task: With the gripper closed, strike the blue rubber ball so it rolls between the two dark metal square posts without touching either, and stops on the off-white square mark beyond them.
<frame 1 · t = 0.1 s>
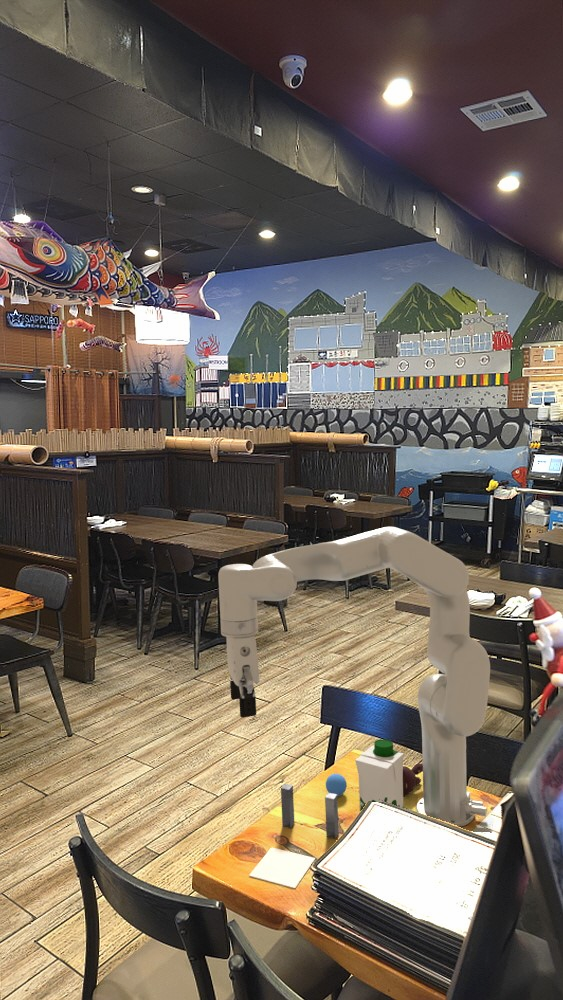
hand: (243, 707, 143), 31 cm above the table, tool pointing down, fingers open, 9 cm apart
icecream: (401, 794, 166), on the table
ball: (336, 784, 166), on the table
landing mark: (282, 867, 140), on the table
left post: (288, 825, 155), on the table
milk carton: (381, 837, 149), on the table
right post: (332, 835, 150), on the table
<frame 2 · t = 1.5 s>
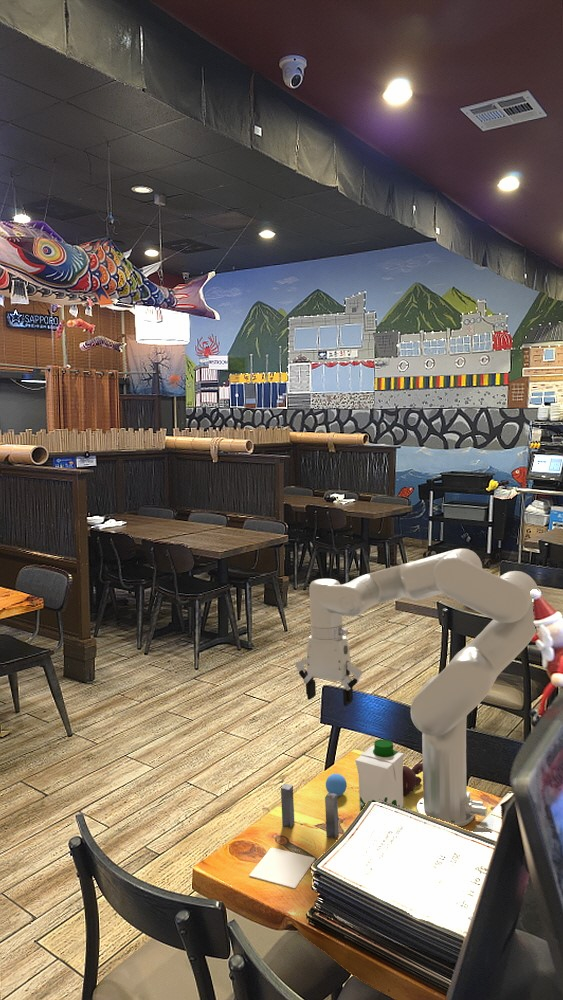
hand: (329, 700, 167), 22 cm above the table, tool pointing down, fingers open, 9 cm apart
nothing on the table moved.
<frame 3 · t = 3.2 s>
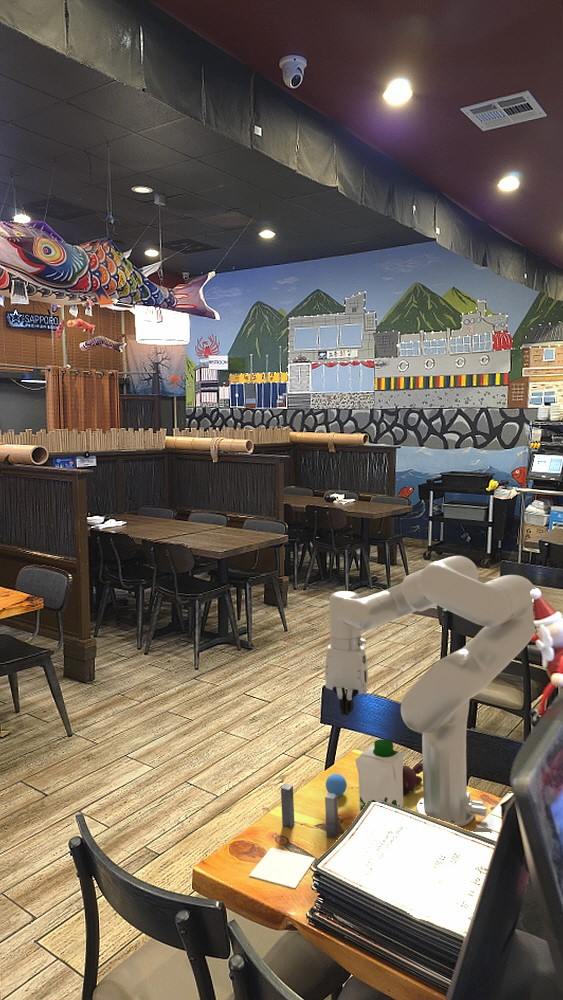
hand: (346, 713, 174), 16 cm above the table, tool pointing down, fingers closed
nothing on the table moved.
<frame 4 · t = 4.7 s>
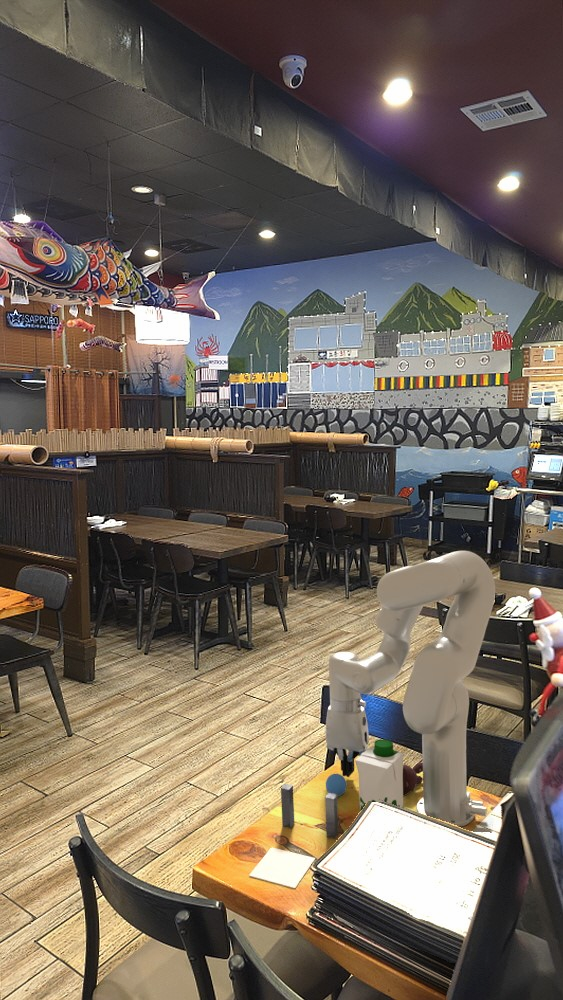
hand: (347, 773, 174), 1 cm above the table, tool pointing down, fingers closed
nothing on the table moved.
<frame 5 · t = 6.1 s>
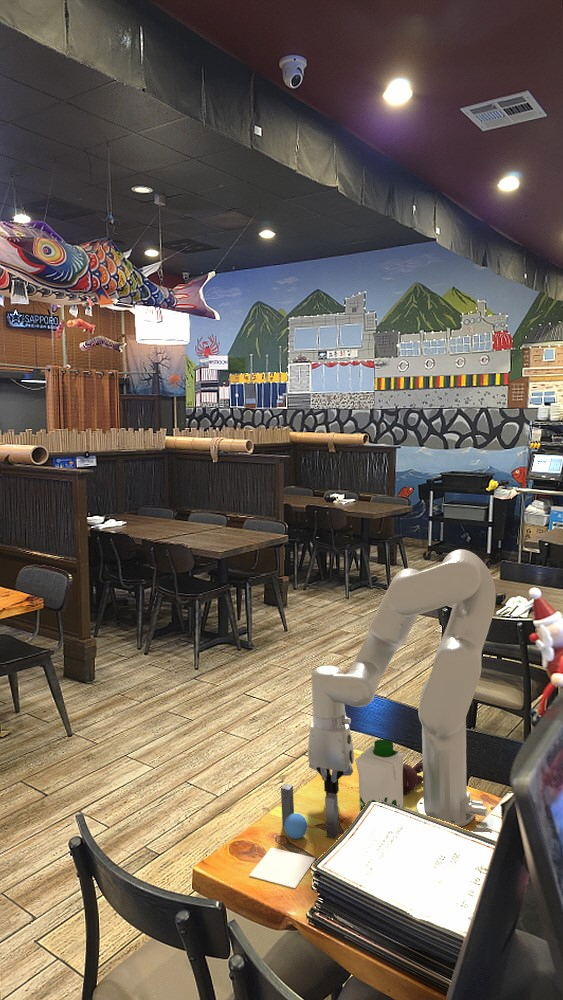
hand: (331, 794, 164), 2 cm above the table, tool pointing down, fingers closed
ball: (295, 826, 150), on the table
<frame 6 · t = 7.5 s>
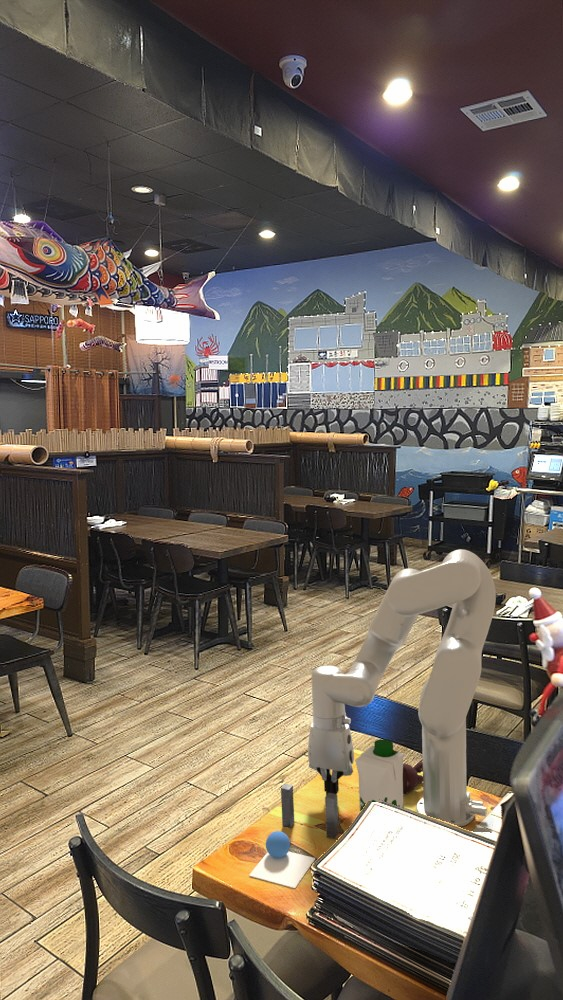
hand: (331, 794, 164), 2 cm above the table, tool pointing down, fingers closed
ball: (277, 844, 143), on the table
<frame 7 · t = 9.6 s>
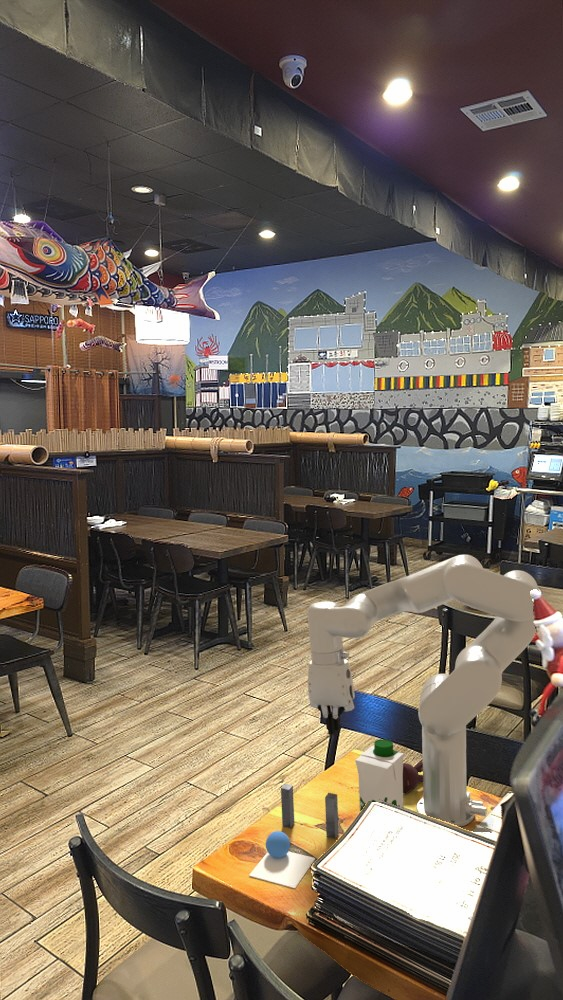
hand: (334, 732, 162), 17 cm above the table, tool pointing down, fingers closed
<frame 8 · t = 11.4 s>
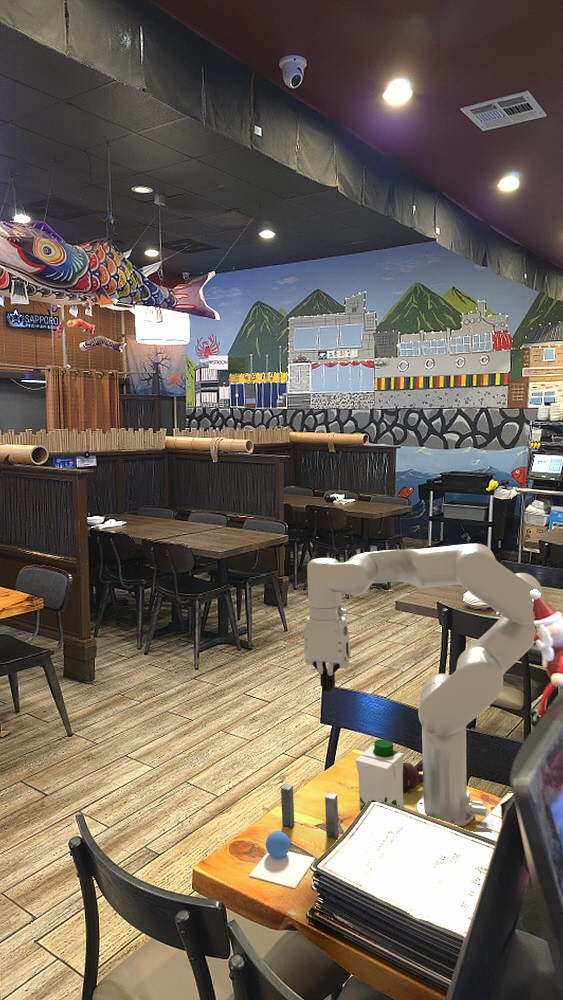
hand: (328, 689, 161), 27 cm above the table, tool pointing down, fingers closed
at the end: ball 4.0 cm from the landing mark (horizontally); ball never touched left post; ball never touched right post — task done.
